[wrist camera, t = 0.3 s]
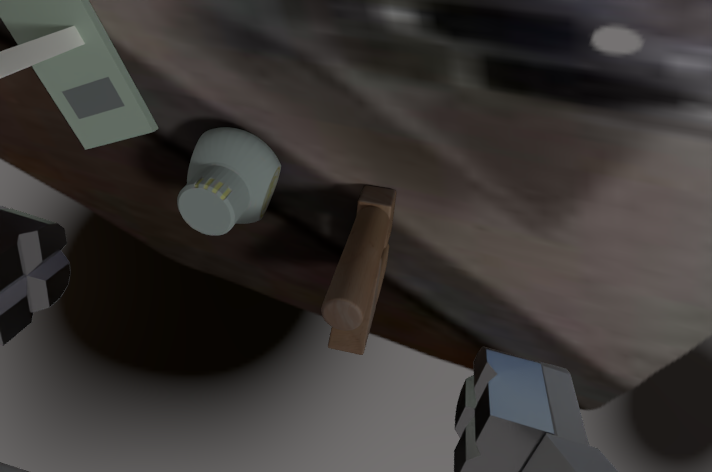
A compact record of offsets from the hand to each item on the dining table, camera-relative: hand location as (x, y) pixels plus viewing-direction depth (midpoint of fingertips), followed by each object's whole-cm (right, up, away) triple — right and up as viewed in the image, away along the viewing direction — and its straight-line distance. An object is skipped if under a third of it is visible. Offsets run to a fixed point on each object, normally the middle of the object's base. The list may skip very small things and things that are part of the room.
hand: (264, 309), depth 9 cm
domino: (-28, +21, +41) cm, 54 cm away
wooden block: (+4, +3, +47) cm, 47 cm away
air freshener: (-11, +9, +46) cm, 48 cm away
